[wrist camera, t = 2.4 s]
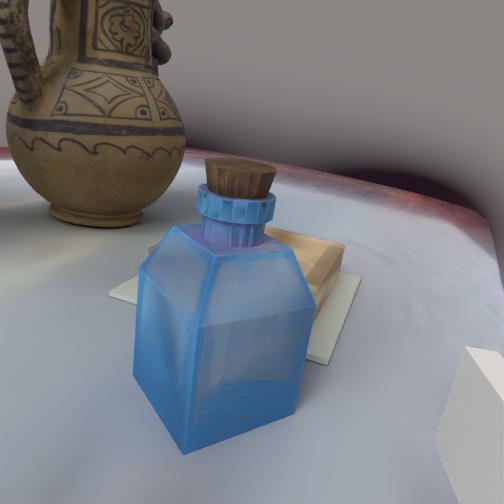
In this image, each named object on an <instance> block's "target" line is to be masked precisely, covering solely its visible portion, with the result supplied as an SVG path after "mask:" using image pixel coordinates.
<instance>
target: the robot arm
mask: <svg viewBox="0 0 504 504" xmlns="http://www.w3.org/2000/svg"><path fill="white" fill-rule="evenodd" d="M433 442H434V445H435V447H436V449H437V452H438V454H439V457H440V459H441V462H442V464H443V466H444V469H445V471H446V474H447V476H448V479H449V481H450V483H451V486H452V488H453V491H454V493H455V496H456V498H457V500H458V503H459V504H504V358H503V357H502V356H501V355H500V353H499V352H497V351H491V350H485V349H479V348H472V347H466V346H465V347H464V350H463V353H462V356H461V359H460V362H459V365H458V368H457V371H456V374H455V377H454V380H453V383H452V386H451V389H450V392H449V395H448V398H447V401H446V405H445V408H444V411H443V414H442V417H441V420H440V423H439V426H438V429H437V432H436V435H435V438H434V441H433Z"/></svg>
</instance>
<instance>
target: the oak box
mask: <svg viewBox="0 0 504 504" xmlns="http://www.w3.org/2000/svg"><path fill="white" fill-rule="evenodd" d="M264 233H265V234H267V235H268V236H270V237H272V238H274V239H276V240H278V241H279V242H281V243H283V244H285V245H287V246H288V247H290V248H292V249H293V251H294V254H295V256H296V258H297V261H298V263H299V265H300V268H301V270H302V272H303V275H304V277H305V279H306V282H307V284H308V286H309V289H310V291H311V294H312V296H313V298H314V301H315V303H316V305H317V306H316V310H315V315H314V320H313V323H314V321H315V320H316V318H317V316H318V314H319V312H320V310H321V308H322V307H323V305H324V303H325V301H326V299H327V297H328V296H329V294H330V292H331V290H332V288H333V286H334V284H335V283H336V281H337V279H338V275H339V271H340V266H341V262H342V257H343V253H344V248H345V245H344V244H339V243H335V242H331V241H327V240H322V239H318V238H314V237H310V236H306V235H301V234H297V233H293V232H289V231H285V230H280V229H276V228H272V227H268V226H265V230H264ZM157 245H158V244H157ZM157 245H155V246H153V247H150V248H149V255H150V254H151V253H152V251H153V250H154V249H155V248H156V246H157Z"/></svg>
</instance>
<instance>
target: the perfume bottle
mask: <svg viewBox="0 0 504 504" xmlns="http://www.w3.org/2000/svg"><path fill="white" fill-rule="evenodd" d="M205 166H206V176H207V184H202V185H200V186H199V189H198V199H197V211H198V212H199V213H201V214H202V223H201V224H197V225H176V226H173V227H172V228H171V229H170V230H169V232H168V233H167V234H166V235H165V236H164V238H163V239H162V240H161V241H160V243H159V244H158V245H157V246H156V248H155V249H154V250H153V251H152V253H151V254H150V255H149V256H148V258H147V259H146V260H145V261H144V263H143V264H142V265H141V266H140V268H139V276H138V293H137V311H136V328H135V345H134V363H133V376H134V377H135V379H136V380H137V382H138V384H139V385H140V387H141V388H142V390H143V392H144V393H145V395H146V396H147V398H148V400H149V401H150V403H151V404H152V406H153V408H154V409H155V411H156V412H157V414H158V416H159V417H160V419H161V420H162V422H163V424H164V425H165V427H166V428H167V430H168V431H169V433H170V435H171V436H172V438H173V439H174V441H175V443H176V444H177V446H178V447H179V449H180V451H181V452H182V454H183V455H185V454H188V453H190V452H193V451H196V450H198V449H201V448H204V447H206V446H209V445H212V444H214V443H217V442H220V441H223V440H225V439H228V438H231V437H233V436H236V435H239V434H241V433H244V432H247V431H250V430H252V429H255V428H258V427H260V426H263V425H266V424H268V423H271V422H274V421H277V420H279V419H282V418H285V417H287V416H290V415H293V414H294V412H295V407H296V402H297V397H298V392H299V388H300V383H301V378H302V373H303V368H304V363H305V359H306V354H307V349H308V344H309V339H310V335H311V330H312V325H313V320H314V315H315V310H316V306H317V305H316V303H315V301H314V298H313V296H312V294H311V291H310V289H309V286H308V284H307V282H306V279H305V277H304V275H303V272H302V270H301V268H300V265H299V263H298V261H297V258H296V256H295V254H294V251H293V249H292V248H290V247H288V246H287V245H285V244H283V243H281V242H279V241H278V240H276V239H274V238H272V237H270V236H268V235H267V234H265V233H264V230H265V223H266V222H269V221H271V220H272V218H273V214H274V208H275V201H276V197H275V195H274V194H272V193H270V192H269V190H270V187H271V185H272V182H273V179H274V177H275V174H276V172H277V169H276V168H275V167H273V166H270V165H267V164H263V163H259V162H254V161H249V160H243V159H234V158H222V157H213V158H206V159H205Z"/></svg>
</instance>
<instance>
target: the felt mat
mask: <svg viewBox="0 0 504 504" xmlns="http://www.w3.org/2000/svg"><path fill="white" fill-rule="evenodd" d="M138 276H139V275H137V276H135V277H133V278H131V279H130V280H128V281H126V282H124V283H122V284H120V285H118V286H117V287H115V288H113V289H111V290H109V296H111V297H114V298H117V299H120V300H124V301H127V302H130V303H133V304H136V305H137V293H138ZM360 281H361V277H360V276H357V275H353V274H349V273H345V272H341V271H339V275H338V279H337V281H336V283H335V284H334V286H333V288H332V290H331V292H330V294H329V296H328V297H327V299H326V301H325V303H324V305H323V307H322V308H321V310H320V312H319V314H318V316H317V318H316V320H315V321H314V323H313V325H312V330H311V335H310V339H309V344H308V349H307V354H306V359H308V360H311V361H314V362H317V363H320V364H324V365H328V363H329V360H330V358H331V355H332V353H333V350H334V347H335V345H336V342H337V340H338V337H339V335H340V332H341V329H342V327H343V324H344V322H345V319H346V317H347V314H348V312H349V309H350V306H351V304H352V301H353V299H354V296H355V294H356V291H357V288H358V286H359V283H360Z"/></svg>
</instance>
